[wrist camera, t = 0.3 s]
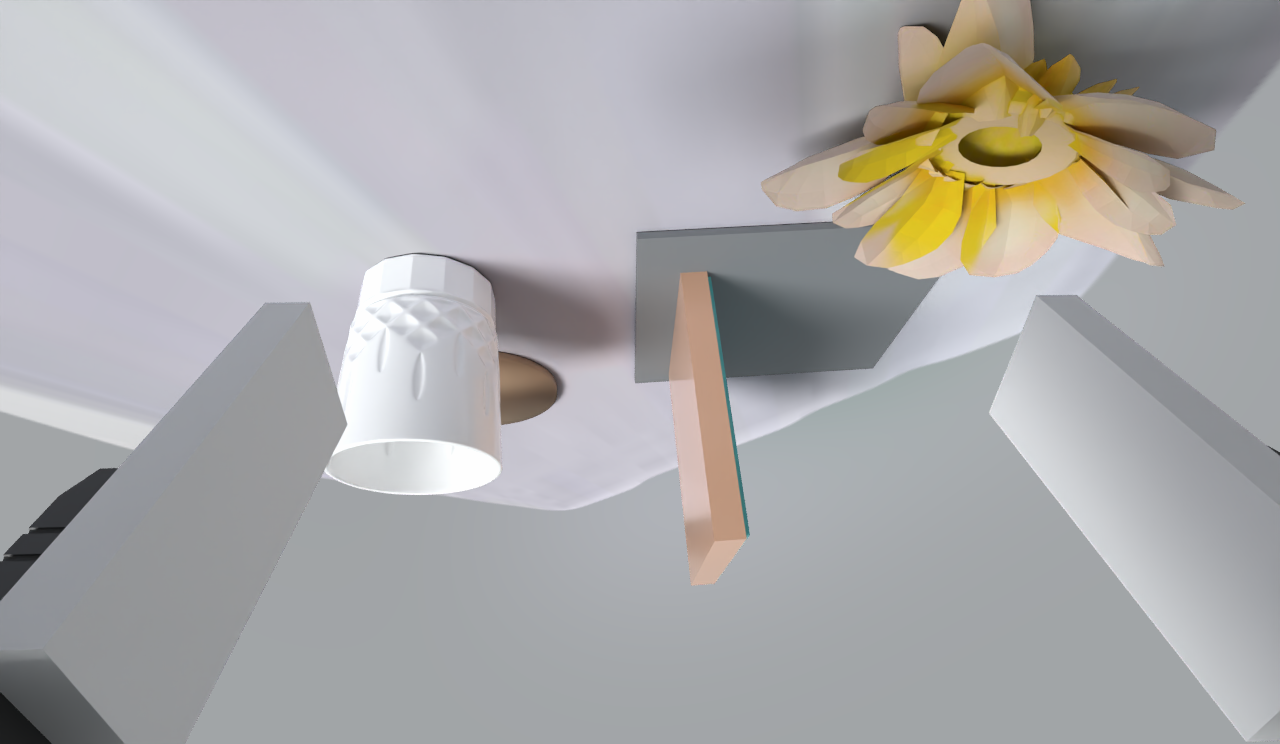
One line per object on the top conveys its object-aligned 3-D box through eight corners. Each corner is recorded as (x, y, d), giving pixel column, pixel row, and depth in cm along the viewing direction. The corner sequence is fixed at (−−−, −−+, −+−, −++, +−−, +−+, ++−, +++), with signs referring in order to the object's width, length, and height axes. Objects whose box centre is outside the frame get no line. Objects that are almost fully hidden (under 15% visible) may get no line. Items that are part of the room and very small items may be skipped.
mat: (636, 232, 32) (637, 239, 31) (977, 214, 32) (980, 220, 32) (634, 378, 46) (635, 383, 46) (871, 363, 47) (872, 368, 47)
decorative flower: (694, 108, 23) (818, 326, 18) (1003, -173, 18) (1287, 16, 13) (847, 266, 34) (950, 427, 29) (1062, 117, 30) (1228, 278, 25)
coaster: (368, 355, 40) (367, 364, 40) (547, 344, 41) (547, 353, 41) (420, 423, 50) (419, 430, 50) (563, 413, 51) (563, 420, 50)
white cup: (481, 338, 40) (475, 499, 35) (340, 313, 36) (313, 489, 31) (526, 267, 34) (525, 450, 29) (361, 227, 30) (332, 430, 25)
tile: (680, 272, 34) (714, 541, 28) (710, 271, 34) (751, 538, 28) (668, 374, 45) (691, 585, 39) (691, 373, 45) (717, 583, 39)
